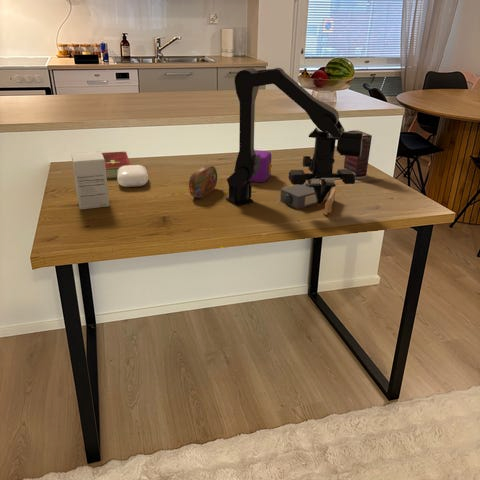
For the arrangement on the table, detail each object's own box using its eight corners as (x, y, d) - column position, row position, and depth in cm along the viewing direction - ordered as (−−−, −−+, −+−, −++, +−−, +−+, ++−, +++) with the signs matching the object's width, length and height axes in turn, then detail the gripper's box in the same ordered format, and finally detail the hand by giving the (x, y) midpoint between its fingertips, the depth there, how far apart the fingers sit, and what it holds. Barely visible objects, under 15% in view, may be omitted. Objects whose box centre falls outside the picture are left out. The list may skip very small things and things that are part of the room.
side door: (330, 215, 142) (331, 204, 140) (324, 214, 142) (325, 203, 140) (337, 199, 153) (338, 189, 152) (331, 198, 154) (333, 188, 152)
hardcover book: (127, 160, 189) (126, 150, 187) (132, 177, 171) (131, 166, 169) (96, 162, 186) (94, 152, 184) (98, 180, 168) (96, 168, 166)
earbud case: (117, 190, 158) (116, 174, 156) (117, 177, 170) (116, 163, 167) (149, 188, 160) (148, 173, 158) (147, 176, 172) (146, 161, 169)
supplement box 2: (366, 178, 174) (372, 135, 167) (355, 179, 173) (361, 136, 166) (353, 171, 181) (358, 129, 174) (342, 172, 180) (347, 130, 173)
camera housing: (294, 209, 146) (296, 195, 144) (277, 201, 152) (278, 188, 150) (329, 200, 154) (331, 186, 152) (312, 192, 160) (313, 179, 158)
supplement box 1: (77, 199, 150) (70, 152, 143) (106, 196, 153) (101, 150, 146) (79, 210, 142) (72, 161, 135) (110, 206, 145) (105, 158, 138)
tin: (196, 201, 150) (195, 176, 146) (187, 200, 151) (186, 174, 148) (218, 187, 162) (218, 163, 159) (209, 186, 164) (209, 162, 160)
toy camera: (271, 172, 179) (273, 145, 174) (270, 184, 167) (271, 156, 162) (243, 170, 180) (243, 144, 175) (239, 182, 167) (240, 154, 163)
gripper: (347, 145, 145) (341, 194, 152) (286, 146, 143) (283, 195, 150) (359, 156, 135) (352, 207, 142) (294, 156, 133) (290, 208, 140)
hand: (319, 204), depth 144 cm, fingers closed
